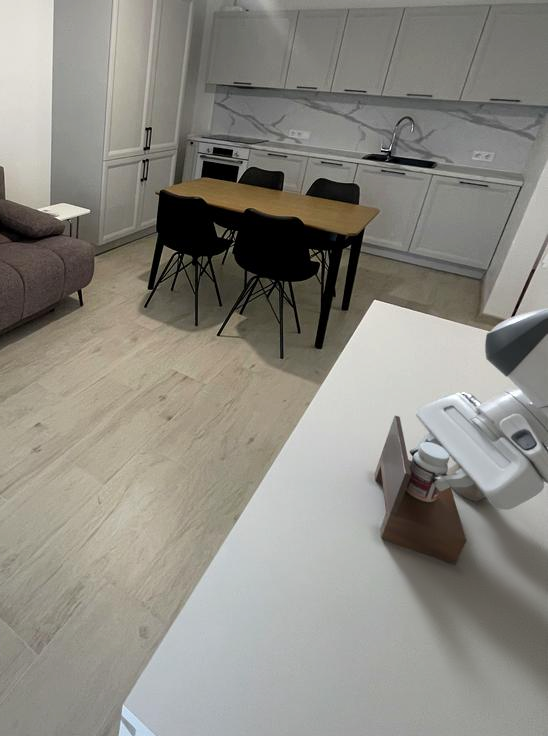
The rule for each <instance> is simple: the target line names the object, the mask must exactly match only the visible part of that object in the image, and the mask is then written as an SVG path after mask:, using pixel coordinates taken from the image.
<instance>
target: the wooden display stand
mask: <svg viewBox="0 0 548 736" xmlns="http://www.w3.org/2000/svg"><path fill="white" fill-rule="evenodd" d="M405 441H406V440H405V436H404V432H403V427H402V421H401V416H400V415H399V416H398V415H394V416H393V419H392V422H391V425H390V428H389V430H388V433H387V435H386V440H385V442H384V445H383V449H382V451H381V454H380V457H379V460H378V463H377V465H376V468H375V471H374V480H375V481H376V482H378V483H380V484H382V489H383V495H384V496H383V497H384V505H385V515H384V518H383V521H382V523H381V526H380V528H379V532H380V539H382V540H384V541H387V542H390V543H392V544H396V545H398V546H401V547H404V548H407V549H409V550H413V551H415V552H417V553H419V554H423V555H425V556H429V557H431V558H433V559H437V560H440V561H442V562H445V563H448V564H450V565H454V566H456V565H457V563H458V561H459V558H460V556H461V554H462V552H463V550H464V547H465V545H466V543H467V541H468V540H467V537H466V534H465V530H464V527H463V524H462V520H461V517H460V514H459V510H458V508H457V503H456V500H455V496H454V493H453V490H452V487H449V488H447V489H445V490H443V491H439V494H438V496H437V499H436V500H435V501H432V502H426V501H422V500H419V499H417V498H415V497H413V496H411V495H410V494H409V493H408V492H407V491H406V488H407V485H408V483H409V480H410V477H411V471H410V464H411V461H412V460H410V459H409V457H408V451H407V446H406V442H405ZM446 476H447V473H446Z"/></svg>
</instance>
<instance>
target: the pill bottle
mask: <svg viewBox="0 0 548 736" xmlns="http://www.w3.org/2000/svg"><path fill="white" fill-rule="evenodd" d="M450 458H451V456H450V455H449V453H448V452H447V450H446V449H444V448H443V447H442V446H439V445H437V444H434V443H430V442H423V443H421V445H420V447H419V449H418V452H416V453H415V454H414V455H413V456H412V459H411V460H410V461H411V464H410V471H411V477H410V480H409V483H408V485H407V488H406V491H407V492H408V493H409V494H410V495H411V496H413V497H415V498H417V499H419V500H422V501H426V502H432V501H435V500H436V499H437V496H438V494H439V490H438V489H437V488H436V486H435V485H434V484H433V482H432V481H431V480H430V479H431V477H432V476H435V475H436V474H438V473H441V475H442V476H446V473H447V471H448V469H449V466H448V463H449V460H450Z"/></svg>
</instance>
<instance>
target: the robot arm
mask: <svg viewBox="0 0 548 736" xmlns="http://www.w3.org/2000/svg"><path fill="white" fill-rule="evenodd" d="M484 350H485V351H484V352H485V359H486V360H487V361H488V362H489V363H490V364H491V365H492V366H493V367H495V368H496V370H498V371H499V372H500V373H501V374H502V375H503V376H505V377H507V378H508V379H509V380H510V381H511V382H512V383H513V384H514V385H515V386H516V387H513V388H509V389H506V390H503V391H502V392H500V393H498V394H496V395H495V396H493V397H490V399H487V400H485V401H484V402H481V401H479V400H478V399H477V398H476V397H475V395H473V394H471V393H466V392H455V393H453V394H451V395H447V396H443V397H440V398H438V399H436V400H433V401H431V402H428V403H427V404H424V405H423V406H420V407H419V408H417V411H416V412H415V416H416V418H417V419H418V420H419V422H420V423H421V425H423V427H424V428H425V429H426V430H427V432H428V433H426V434H424V435H423V436H422V438H421V440H420V441H419V443H418V445H417V446H415V447H414V448H412V449H410V450H409V454H410V456H412V457H413V455H414V454H415V453H416V452H418V449H419V447H420V445H421V443H423V442H430V443H434V444H437V445H439V446H441V447H443V448H444V449H446V450H447V452H448V453H449V455H450V458H451V459H452V460H453V461H454V462H455V463H457V464H458V465H459V467H460V468H461V469H459V470H457V471H455V473H456V474H457V475H450V476H442V475H441V473H438V474H436V475H435V476H432V477H431V479H430V480H431V481H432V482H433V484H434V485H435V486H436V488H437V489H438V490H439V491H443V490H445V489H447V488H449V487H451V488H452V487H468V486H470V485H472V484H475V485H476V486H477V487H478V488H479V489H480V491H481V492H482V493H483V494H484V495H485V497H486V499H487V500H488V502H490V503H491V504H492V506H493V507H494V508H495V509H499V510H510V509H514V508H516V507H517V506H519V505H522V504H524V503H526V502H528V501H529V500H531V499H533V498H534V497H536V496H537V495H539V494H540V493H541V492H542V491H543V490H544V488H545V483H546V484H548V307H545V308H541V309H536V310H532V311H528V312H527V311H526V312H523V313H519V314H517V315H514V316H511V317H509V318H506V319H504V320H503V321H501V322H500V323H497V325H495V326H494V327H492V329H490V331H489V332H488V333H486V335H485V342H484Z"/></svg>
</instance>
